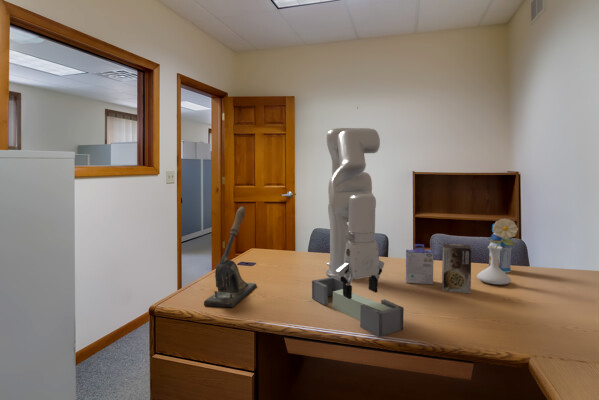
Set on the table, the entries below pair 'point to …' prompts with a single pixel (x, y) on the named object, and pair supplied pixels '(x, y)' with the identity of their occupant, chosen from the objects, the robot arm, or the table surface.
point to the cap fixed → (382, 319)
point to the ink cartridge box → (419, 265)
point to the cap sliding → (325, 288)
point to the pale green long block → (354, 304)
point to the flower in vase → (493, 271)
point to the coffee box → (456, 268)
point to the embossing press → (230, 274)
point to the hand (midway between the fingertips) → (360, 294)
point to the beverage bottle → (501, 253)
